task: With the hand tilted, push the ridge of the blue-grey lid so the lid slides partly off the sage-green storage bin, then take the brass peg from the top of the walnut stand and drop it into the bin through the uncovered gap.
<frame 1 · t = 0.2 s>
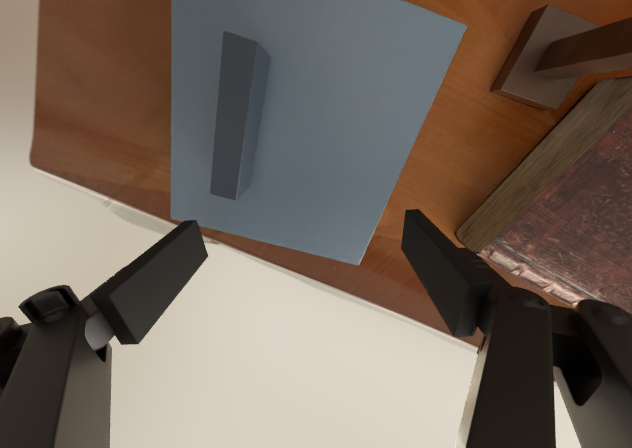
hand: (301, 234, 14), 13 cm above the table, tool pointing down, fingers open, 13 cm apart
lid: (293, 138, 16), point 9 cm above the table, touching bin
stand: (538, 64, 21), on the table
hardback book: (596, 225, 28), on the table
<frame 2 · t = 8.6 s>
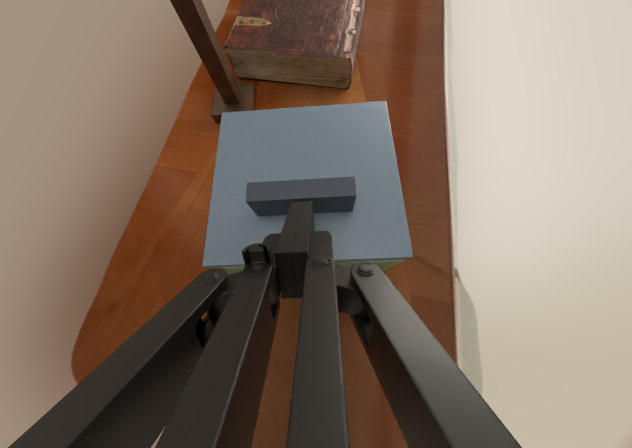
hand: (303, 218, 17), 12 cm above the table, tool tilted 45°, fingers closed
lid: (304, 179, 21), point 9 cm above the table, touching bin, gripper
stand: (236, 106, 36), on the table
bin: (311, 217, 29), on the table
hardback book: (309, 25, 41), on the table
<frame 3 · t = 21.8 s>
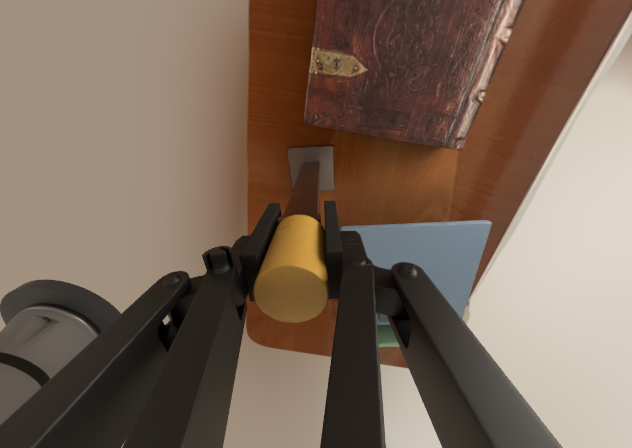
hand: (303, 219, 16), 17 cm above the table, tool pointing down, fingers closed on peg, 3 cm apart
lid: (405, 277, 29), point 9 cm above the table, touching bin
stand: (312, 167, 32), on the table
bin: (383, 274, 40), on the table
peg: (300, 237, 14), point 20 cm above the table, touching gripper, stand
when the fingers open (6 cm above the table, at t = 31.4 s): peg drops 8 cm, resting on bin.
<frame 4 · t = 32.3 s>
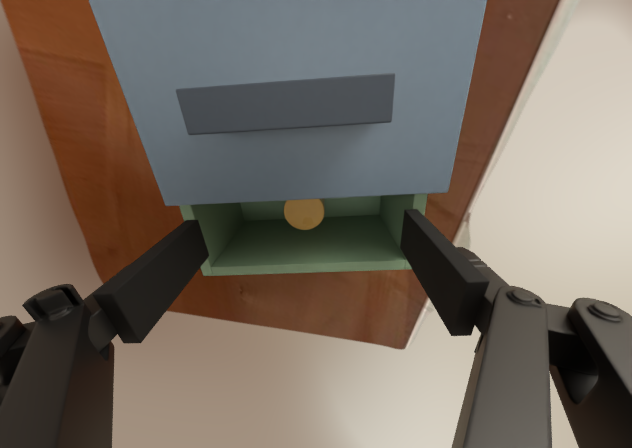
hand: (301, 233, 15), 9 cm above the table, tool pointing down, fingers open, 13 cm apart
lid: (289, 35, 11), point 9 cm above the table, touching bin
bin: (306, 151, 21), on the table
peg: (307, 192, 22), point 1 cm above the table, touching bin
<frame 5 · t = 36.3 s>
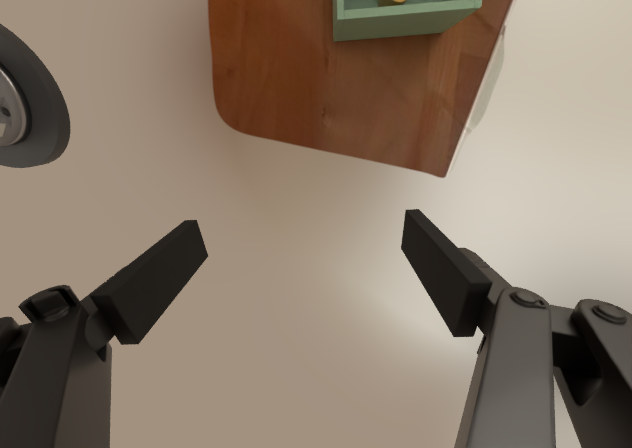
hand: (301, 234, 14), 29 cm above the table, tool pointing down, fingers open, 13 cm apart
peg: (389, 2, 31), point 1 cm above the table, touching bin
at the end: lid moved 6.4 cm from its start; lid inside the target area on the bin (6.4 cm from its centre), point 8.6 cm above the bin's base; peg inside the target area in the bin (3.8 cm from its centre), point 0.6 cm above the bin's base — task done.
